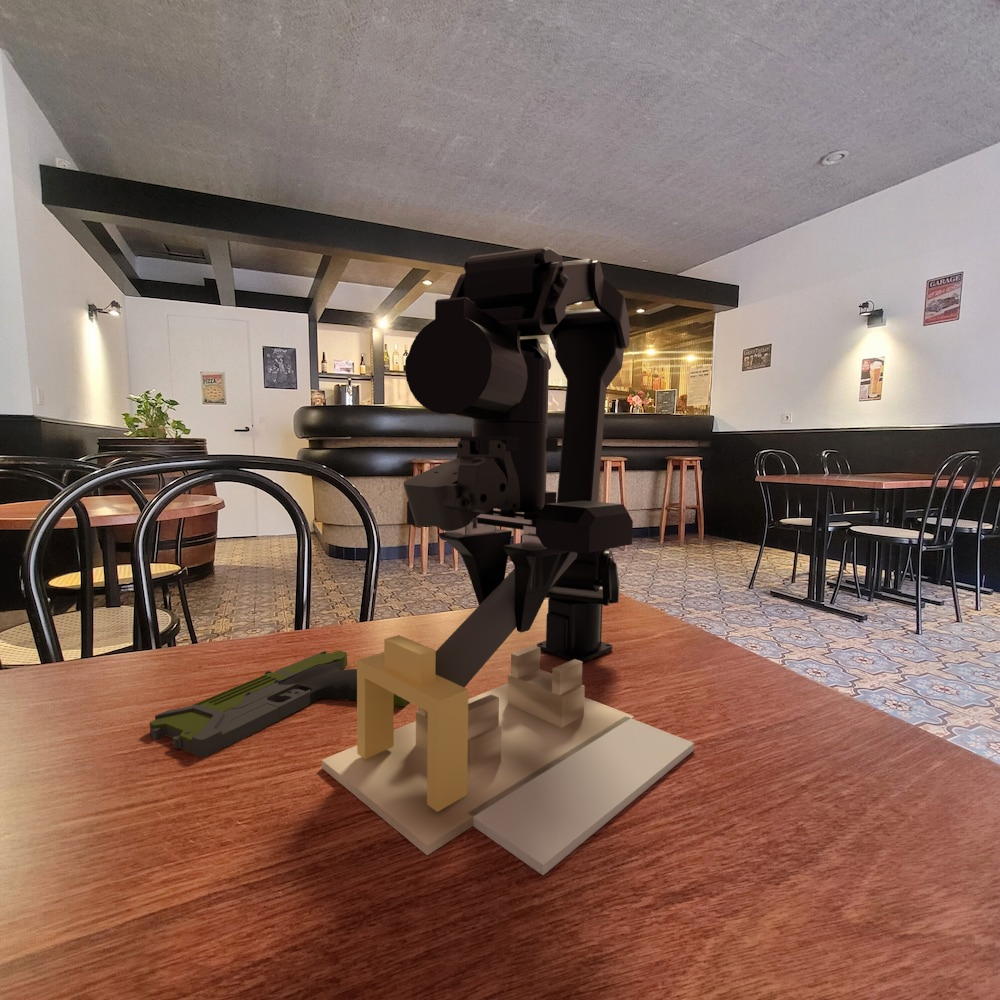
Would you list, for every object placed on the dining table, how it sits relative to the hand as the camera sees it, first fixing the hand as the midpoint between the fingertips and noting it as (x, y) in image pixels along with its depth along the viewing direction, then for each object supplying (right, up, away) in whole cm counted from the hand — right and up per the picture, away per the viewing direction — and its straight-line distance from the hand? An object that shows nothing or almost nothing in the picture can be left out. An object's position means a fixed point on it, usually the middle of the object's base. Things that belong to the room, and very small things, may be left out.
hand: (506, 625), depth 43 cm
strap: (-7, -10, -6) cm, 13 cm away
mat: (+6, -10, -5) cm, 12 cm away
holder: (-1, -9, 0) cm, 9 cm away
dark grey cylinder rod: (0, +1, 0) cm, 1 cm away
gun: (-18, -9, +5) cm, 21 cm away
